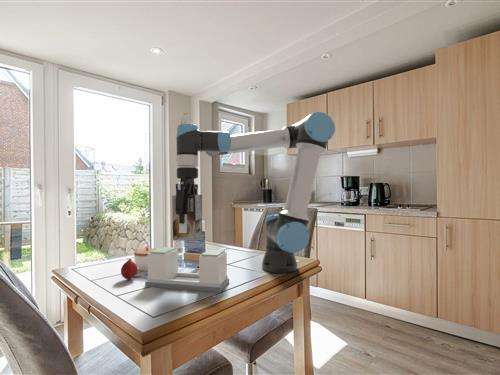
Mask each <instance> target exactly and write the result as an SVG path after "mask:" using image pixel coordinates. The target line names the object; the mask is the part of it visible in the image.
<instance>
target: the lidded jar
mask: <svg viewBox="0 0 500 375" xmlns="http://www.w3.org/2000/svg"><path fill="white" fill-rule="evenodd" d="M156 249H157V248H155V247H154V248H153V247H152V248H151V247H150V248H149V246H146V247H145V248H141V249H137V250H134V251H133V258H134V263H135V264H136V265H137V267H138V270H140V271H143V272H146V271H147V270H148V253H150V251H153V250H156ZM147 272H148V271H147Z"/></svg>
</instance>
